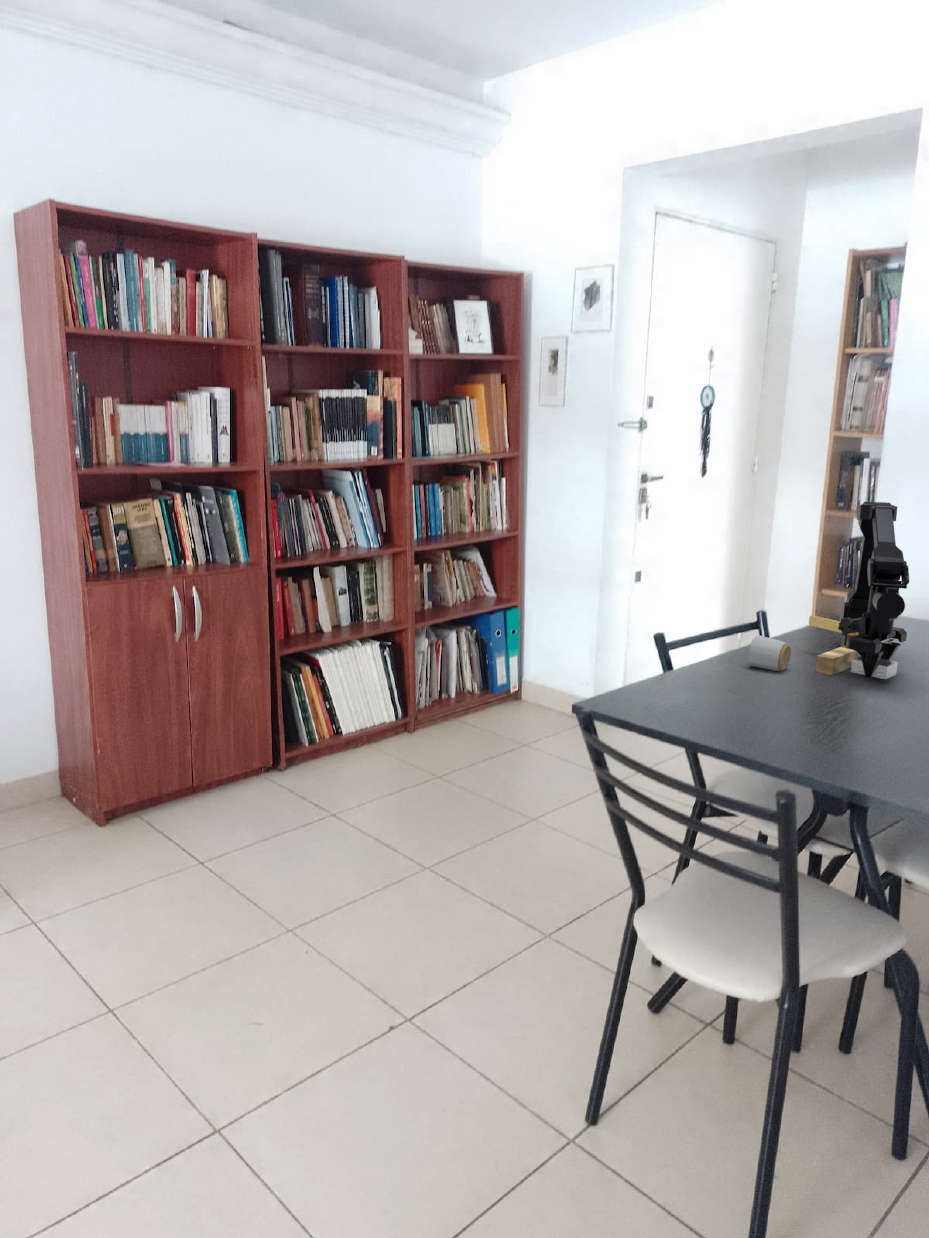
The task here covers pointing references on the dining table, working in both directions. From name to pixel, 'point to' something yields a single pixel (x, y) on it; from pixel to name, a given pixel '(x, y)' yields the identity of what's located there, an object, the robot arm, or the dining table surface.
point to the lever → (826, 624)
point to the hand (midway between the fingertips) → (873, 674)
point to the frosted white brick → (882, 669)
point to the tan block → (836, 659)
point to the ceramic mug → (769, 653)
